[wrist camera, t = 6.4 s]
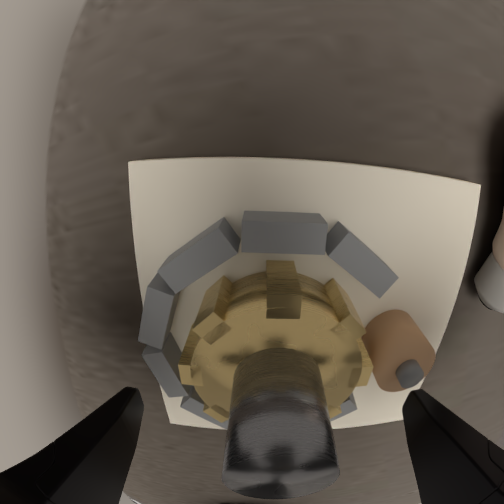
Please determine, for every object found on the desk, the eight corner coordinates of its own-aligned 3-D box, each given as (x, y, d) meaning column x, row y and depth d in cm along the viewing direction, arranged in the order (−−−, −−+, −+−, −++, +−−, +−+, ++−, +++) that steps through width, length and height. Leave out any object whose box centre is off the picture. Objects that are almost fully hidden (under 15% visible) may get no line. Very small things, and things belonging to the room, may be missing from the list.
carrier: (398, 408, 15) (416, 455, 11) (173, 410, 15) (158, 463, 12) (467, 181, 10) (528, 200, 6) (138, 159, 10) (83, 170, 7)
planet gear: (339, 389, 13) (365, 505, 7) (200, 387, 13) (173, 506, 7) (368, 262, 11) (457, 384, 4) (187, 257, 11) (111, 387, 5)
